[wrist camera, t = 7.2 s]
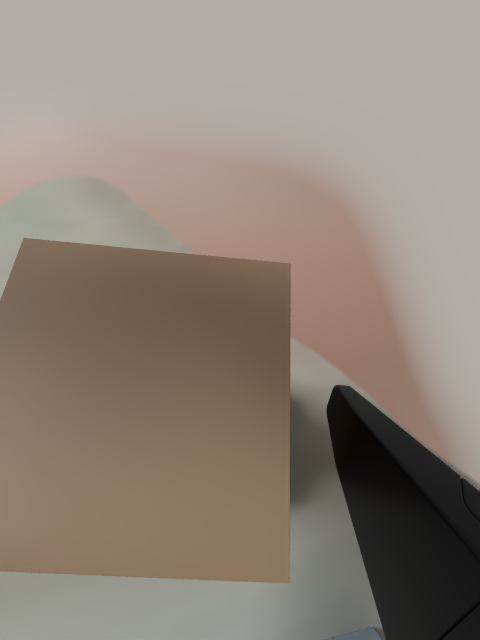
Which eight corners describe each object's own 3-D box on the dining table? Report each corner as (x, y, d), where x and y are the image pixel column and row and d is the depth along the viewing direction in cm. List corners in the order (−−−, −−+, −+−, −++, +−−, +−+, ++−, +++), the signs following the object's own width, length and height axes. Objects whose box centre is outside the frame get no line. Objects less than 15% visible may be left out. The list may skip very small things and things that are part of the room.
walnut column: (234, 478, 15) (290, 583, 4) (131, 472, 15) (-99, 567, 4) (240, 377, 17) (290, 263, 6) (148, 370, 17) (23, 237, 6)
